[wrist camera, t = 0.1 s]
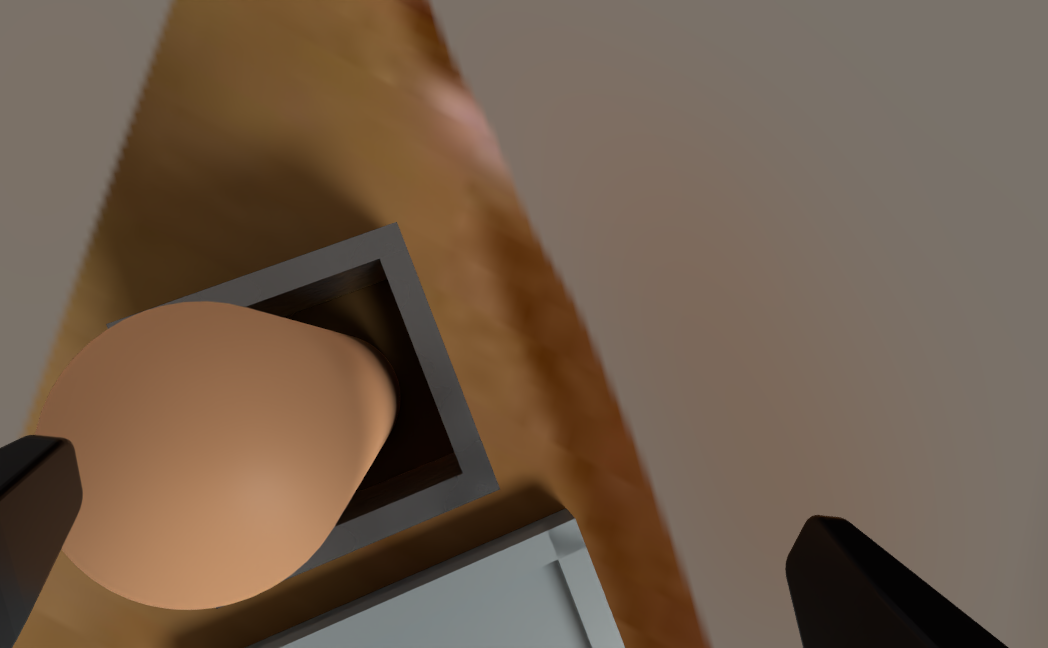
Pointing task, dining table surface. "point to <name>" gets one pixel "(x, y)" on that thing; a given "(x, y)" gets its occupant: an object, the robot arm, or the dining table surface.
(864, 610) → the robot arm
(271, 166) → the dining table surface
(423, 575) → the tray
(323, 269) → the square socket holder
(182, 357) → the peg
